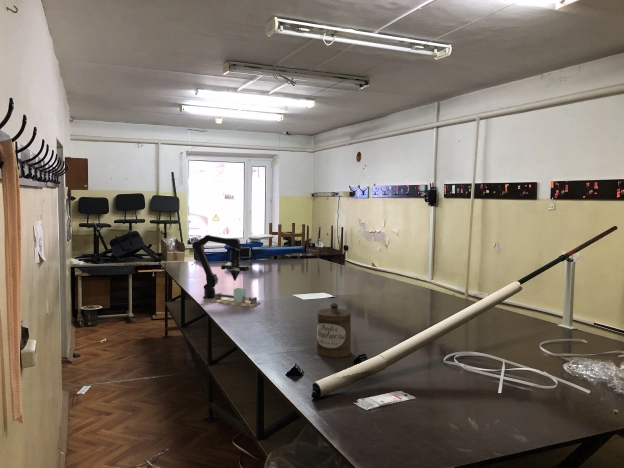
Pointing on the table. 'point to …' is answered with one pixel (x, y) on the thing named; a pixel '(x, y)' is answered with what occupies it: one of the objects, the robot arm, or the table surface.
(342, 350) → the wooden container
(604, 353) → the table surface
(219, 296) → the long grey square rod
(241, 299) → the pale teal block
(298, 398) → the table surface
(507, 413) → the table surface
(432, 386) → the table surface
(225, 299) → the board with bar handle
